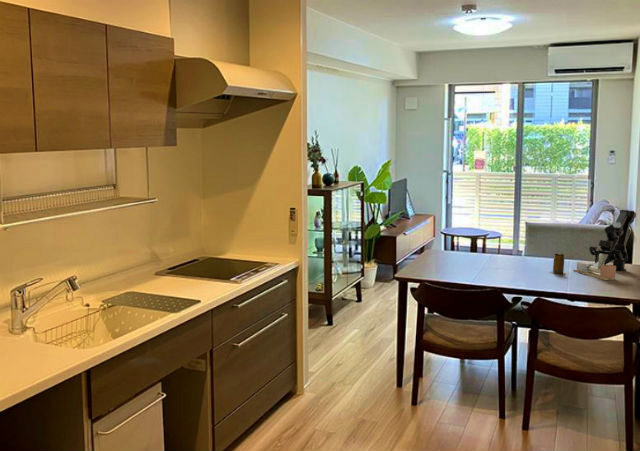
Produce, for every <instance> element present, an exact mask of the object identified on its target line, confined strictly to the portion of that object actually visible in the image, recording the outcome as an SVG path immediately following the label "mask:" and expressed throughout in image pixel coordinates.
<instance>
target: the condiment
mask: <svg viewBox="0 0 640 451" xmlns="http://www.w3.org/2000/svg"><path fill="white" fill-rule="evenodd" d="M552 264H553V265H552V271H550V272H549V273H551V274H557V275H561V276H562V275H563V276H565V275H569V273H568V272H564V271H565V268H564V267H565V253H563V252H562V253H559V252H556V253H554V258H553V262H552Z"/></svg>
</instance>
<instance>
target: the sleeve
mask: <svg viewBox="0 0 640 451" xmlns="http://www.w3.org/2000/svg"><path fill="white" fill-rule="evenodd" d="M588 265H590V266H594V263H591V262H587V261H583V260H582V261H577V262H576V269H577V270H579V271H583V272H586V273H587V272H592V271H588V270H587V267H588Z"/></svg>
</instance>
